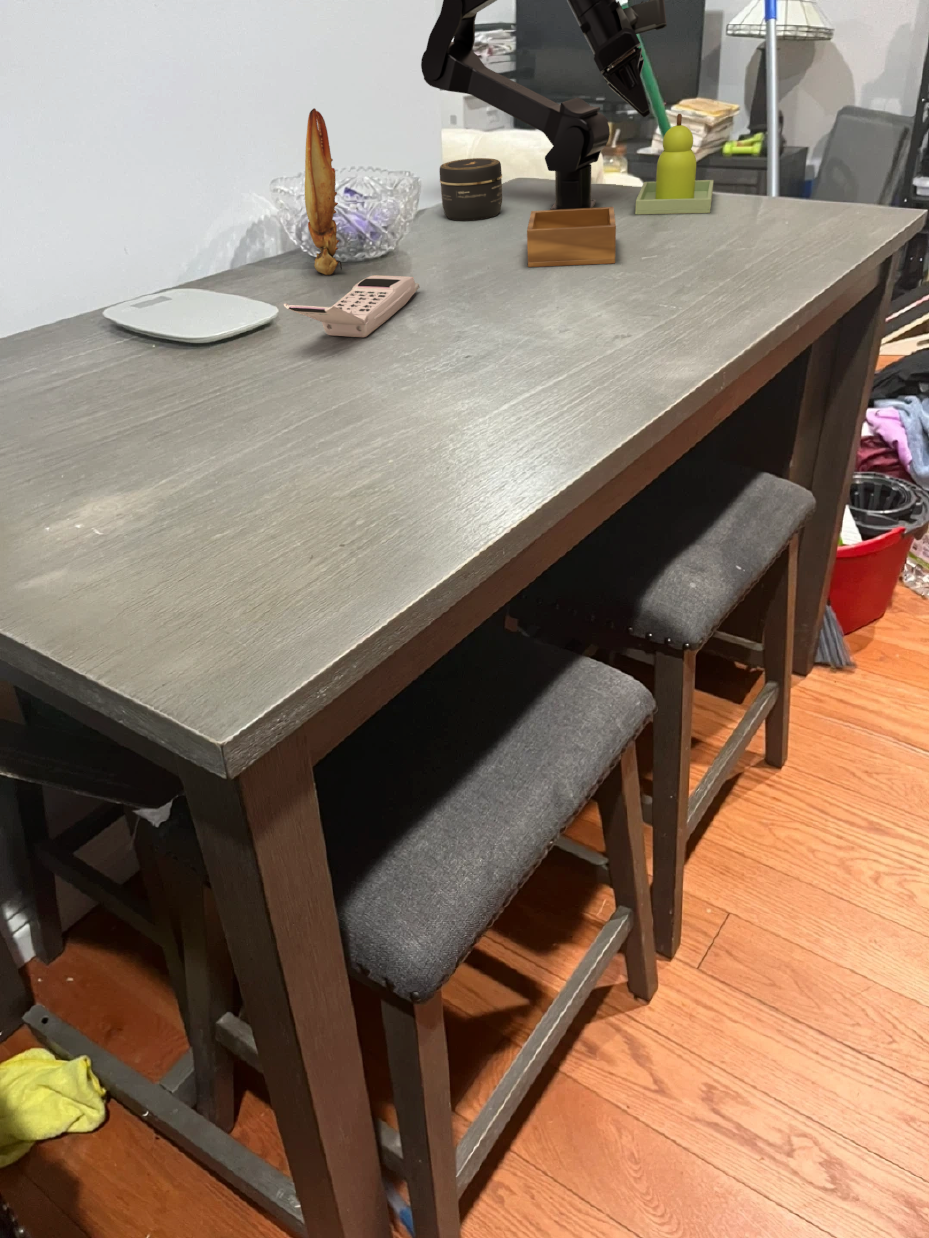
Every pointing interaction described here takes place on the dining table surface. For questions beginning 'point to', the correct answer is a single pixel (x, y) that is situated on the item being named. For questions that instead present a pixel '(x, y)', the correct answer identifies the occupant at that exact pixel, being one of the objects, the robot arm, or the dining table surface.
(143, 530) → the dining table surface
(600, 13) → the robot arm
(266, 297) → the dining table surface
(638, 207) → the tray
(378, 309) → the mobile phone
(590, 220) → the wooden box
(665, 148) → the pear
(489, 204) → the jar
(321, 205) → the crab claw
